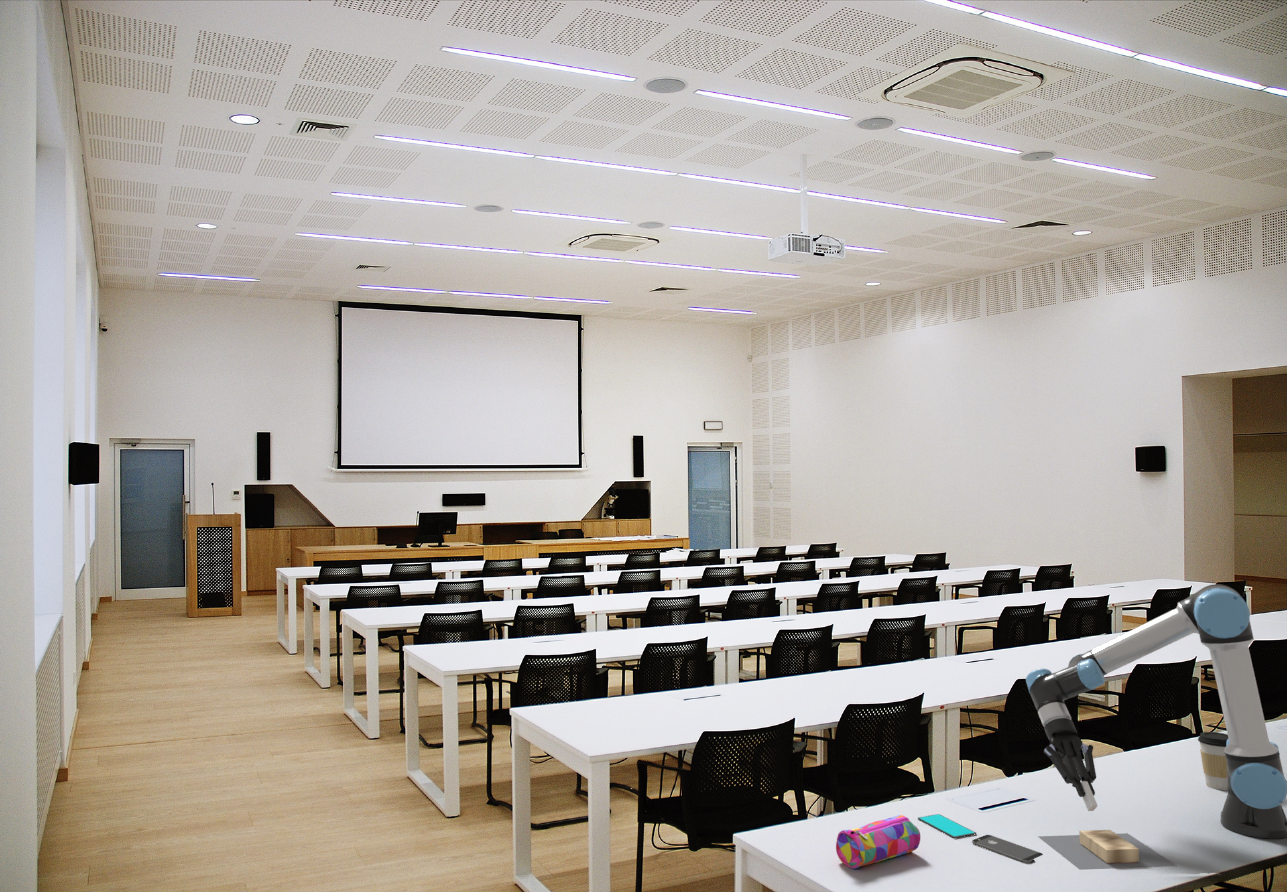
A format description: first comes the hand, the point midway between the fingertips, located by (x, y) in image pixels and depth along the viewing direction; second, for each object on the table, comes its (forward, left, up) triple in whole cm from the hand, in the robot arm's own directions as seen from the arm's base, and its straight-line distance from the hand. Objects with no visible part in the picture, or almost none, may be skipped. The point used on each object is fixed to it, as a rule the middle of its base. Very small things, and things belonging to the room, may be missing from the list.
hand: (1092, 808), depth 233 cm
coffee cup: (-61, -40, -10) cm, 74 cm away
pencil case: (+56, +3, -10) cm, 57 cm away
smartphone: (+32, -16, -10) cm, 37 cm away
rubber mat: (0, +4, -9) cm, 10 cm away
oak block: (0, 0, -7) cm, 7 cm away
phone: (+23, 0, -10) cm, 25 cm away
